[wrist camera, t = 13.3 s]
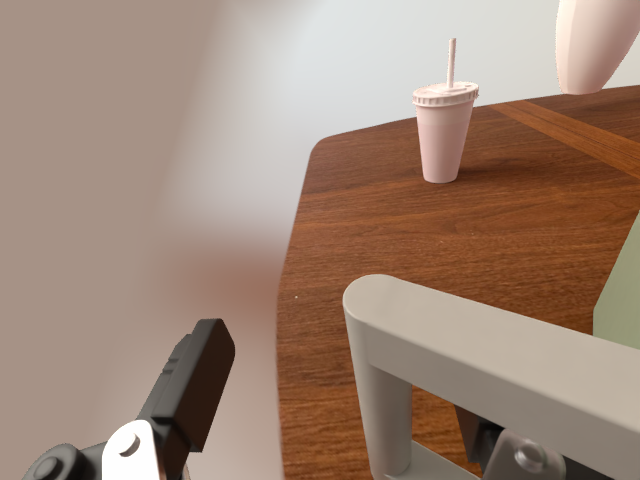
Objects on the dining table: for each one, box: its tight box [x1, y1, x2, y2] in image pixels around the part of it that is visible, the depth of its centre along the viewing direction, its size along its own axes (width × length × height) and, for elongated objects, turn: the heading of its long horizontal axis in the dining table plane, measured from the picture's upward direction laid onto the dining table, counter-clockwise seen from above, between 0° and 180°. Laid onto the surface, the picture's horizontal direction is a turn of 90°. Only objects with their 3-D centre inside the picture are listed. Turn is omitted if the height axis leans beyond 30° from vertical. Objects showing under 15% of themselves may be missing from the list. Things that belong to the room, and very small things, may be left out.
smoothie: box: [412, 38, 479, 183], centre depth 34 cm, size 6×6×14 cm
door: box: [343, 211, 640, 480], centre depth 12 cm, size 8×16×14 cm, turn 146°
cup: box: [556, 0, 640, 94], centre depth 43 cm, size 10×10×22 cm
